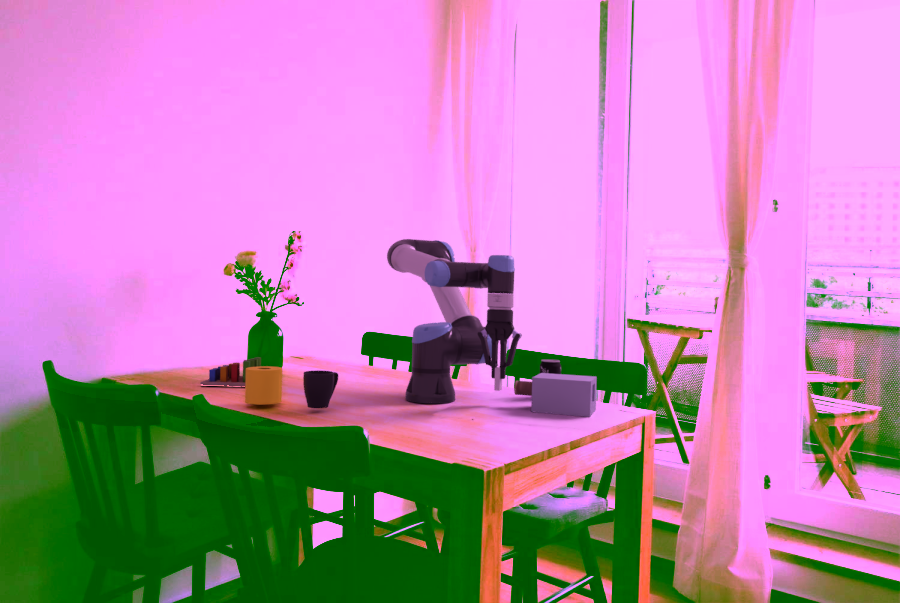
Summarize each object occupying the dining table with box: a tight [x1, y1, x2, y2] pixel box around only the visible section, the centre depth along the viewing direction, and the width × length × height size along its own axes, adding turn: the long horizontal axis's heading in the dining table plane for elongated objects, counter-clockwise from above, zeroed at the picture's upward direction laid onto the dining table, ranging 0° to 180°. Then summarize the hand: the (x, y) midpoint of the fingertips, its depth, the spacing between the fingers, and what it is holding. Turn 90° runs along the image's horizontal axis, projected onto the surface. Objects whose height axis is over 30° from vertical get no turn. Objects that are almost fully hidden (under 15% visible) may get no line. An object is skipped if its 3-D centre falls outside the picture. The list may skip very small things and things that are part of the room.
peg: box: [513, 380, 532, 397], centre depth 191 cm, size 12×4×4 cm, turn 71°
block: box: [530, 372, 598, 418], centre depth 189 cm, size 16×12×10 cm
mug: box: [303, 370, 339, 409], centre depth 186 cm, size 8×12×10 cm
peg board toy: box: [199, 356, 262, 386], centre depth 227 cm, size 18×17×9 cm
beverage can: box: [539, 359, 562, 374], centre depth 210 cm, size 7×7×12 cm
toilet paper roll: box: [244, 365, 283, 406], centre depth 191 cm, size 10×10×9 cm
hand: (498, 389), depth 195 cm, fingers closed
